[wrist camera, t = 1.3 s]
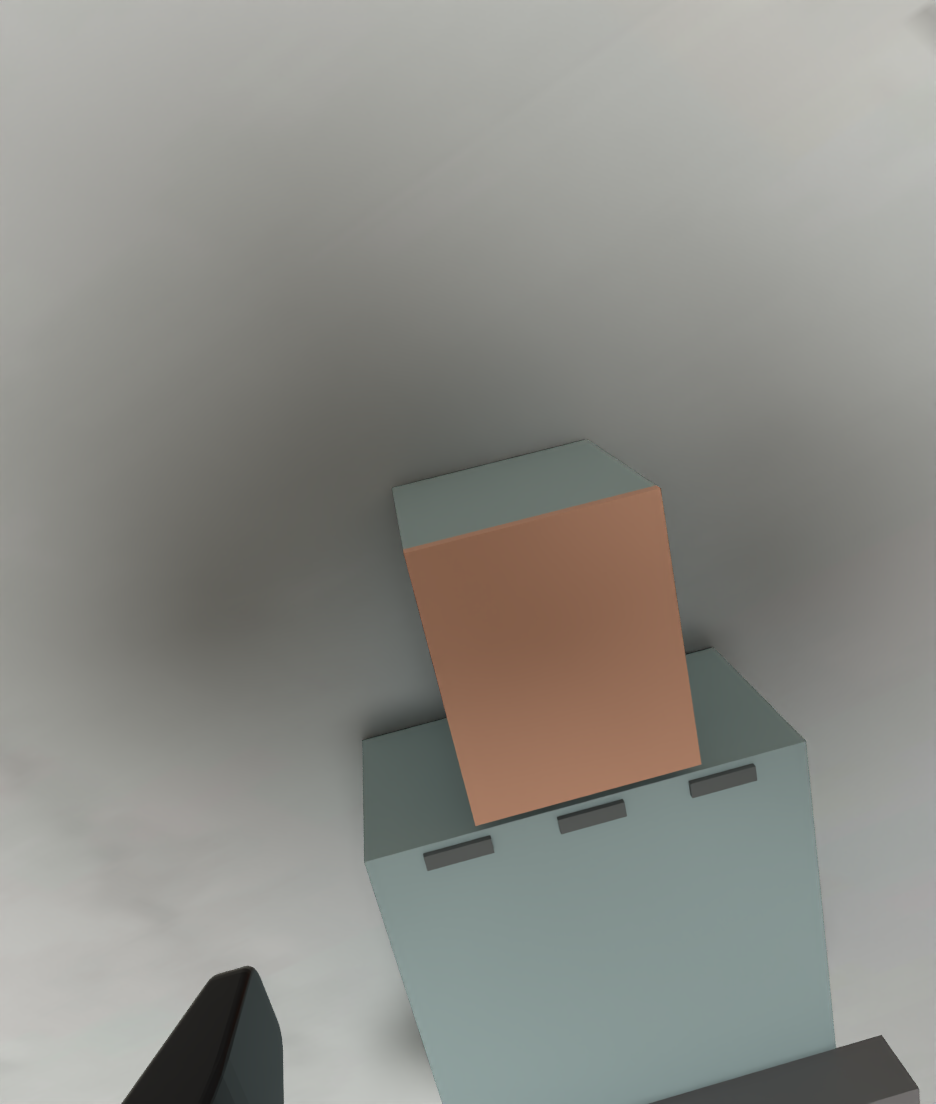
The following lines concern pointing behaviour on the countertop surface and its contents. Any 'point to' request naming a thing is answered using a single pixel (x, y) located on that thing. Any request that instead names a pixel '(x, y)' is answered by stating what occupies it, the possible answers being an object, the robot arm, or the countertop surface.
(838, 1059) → the teal block with bar
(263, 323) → the countertop surface
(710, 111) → the countertop surface
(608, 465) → the teal and orange block
